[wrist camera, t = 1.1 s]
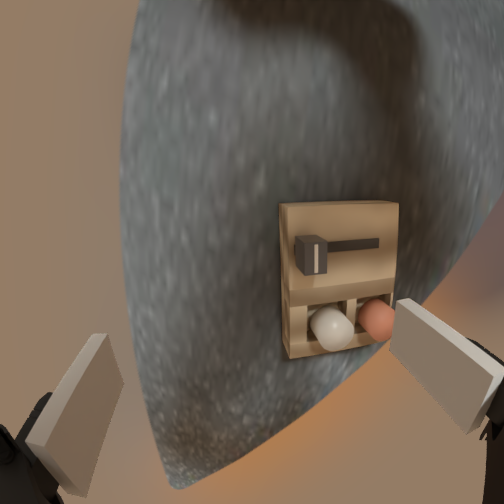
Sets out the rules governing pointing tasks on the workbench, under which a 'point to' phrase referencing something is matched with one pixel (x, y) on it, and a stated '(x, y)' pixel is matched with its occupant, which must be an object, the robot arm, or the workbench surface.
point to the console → (336, 266)
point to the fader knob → (311, 254)
